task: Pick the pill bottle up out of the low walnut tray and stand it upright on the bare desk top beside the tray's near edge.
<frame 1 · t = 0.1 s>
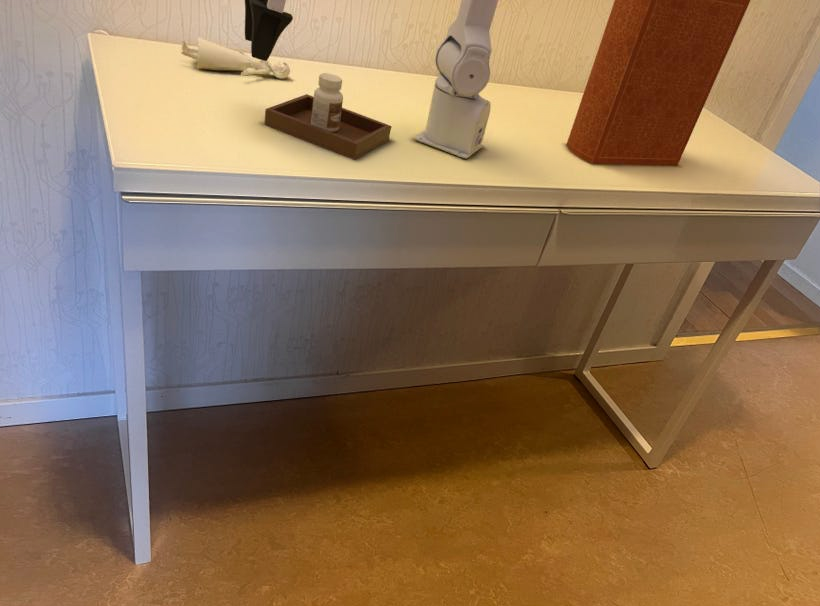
hand: (255, 49, 98), 11 cm above the table, tool pointing down, fingers open, 7 cm apart
book: (620, 156, 132), on the table
tray: (328, 132, 108), on the table
woman figurine: (236, 72, 121), on the table
pill bottle: (324, 128, 109), resting on tray
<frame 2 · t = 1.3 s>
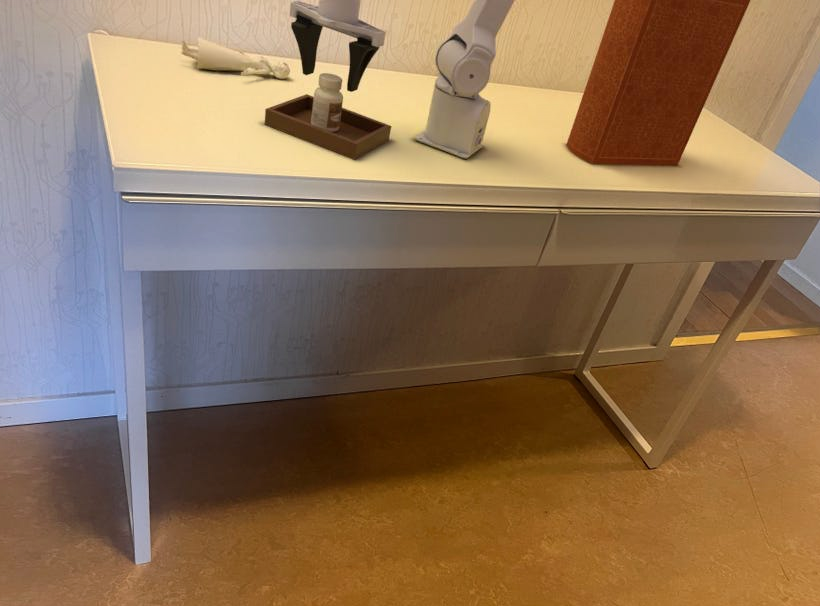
hand: (330, 81, 104), 7 cm above the table, tool pointing down, fingers open, 7 cm apart
nothing on the table moved.
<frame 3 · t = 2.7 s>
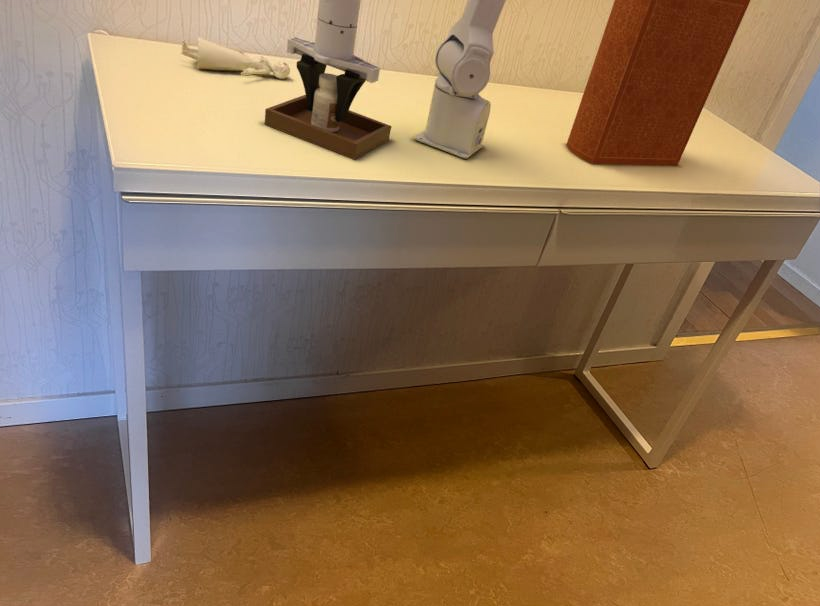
hand: (326, 114, 107), 2 cm above the table, tool pointing down, fingers closed on pill bottle, 4 cm apart
pill bottle: (324, 128, 109), resting on tray, touching gripper
everything else where it was.
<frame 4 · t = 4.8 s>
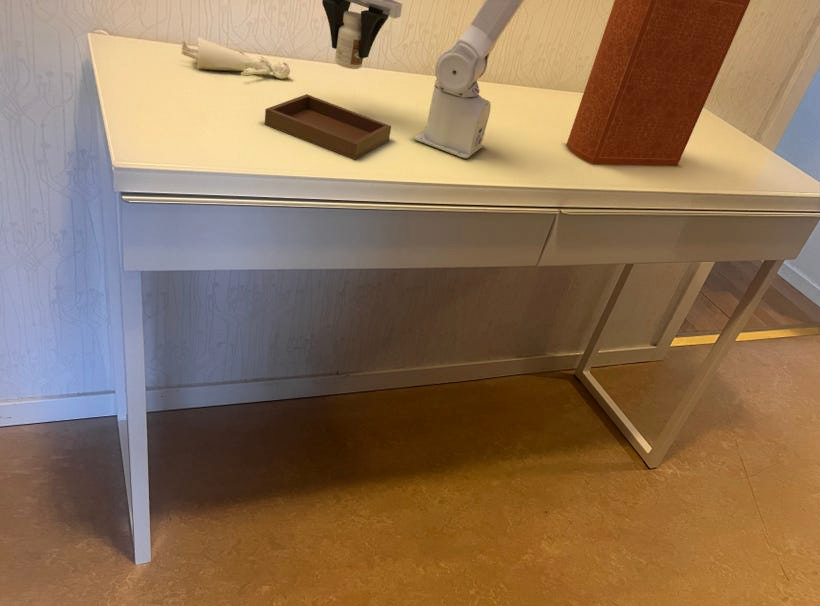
hand: (349, 52, 112), 9 cm above the table, tool pointing down, fingers closed on pill bottle, 4 cm apart
pill bottle: (348, 66, 114), point 7 cm above the table, touching gripper
everything else where it was.
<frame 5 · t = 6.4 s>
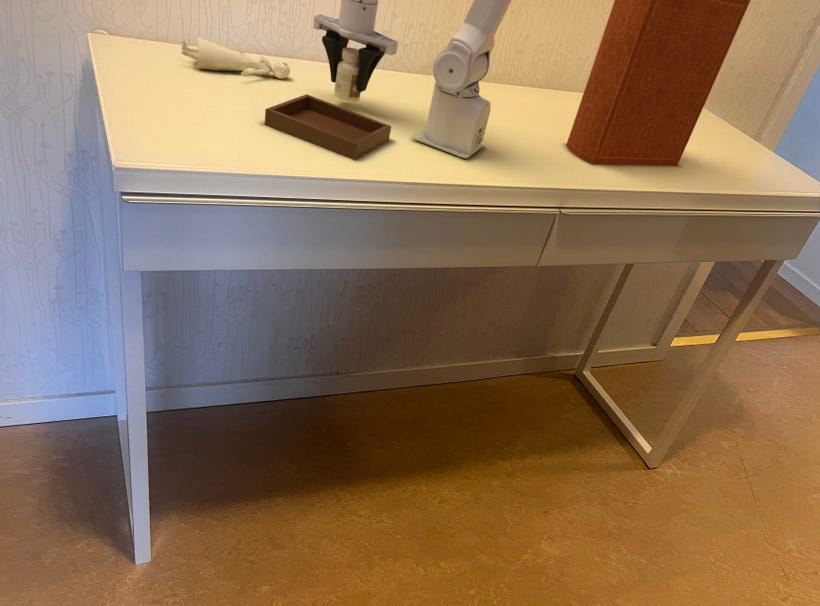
hand: (348, 85, 118), 3 cm above the table, tool pointing down, fingers closed on pill bottle, 4 cm apart
pill bottle: (346, 98, 119), point 1 cm above the table, touching gripper
everything else where it was.
when the fingers open (2 cm above the table, at t = 7.3 s): pill bottle stays where it is, on the table.
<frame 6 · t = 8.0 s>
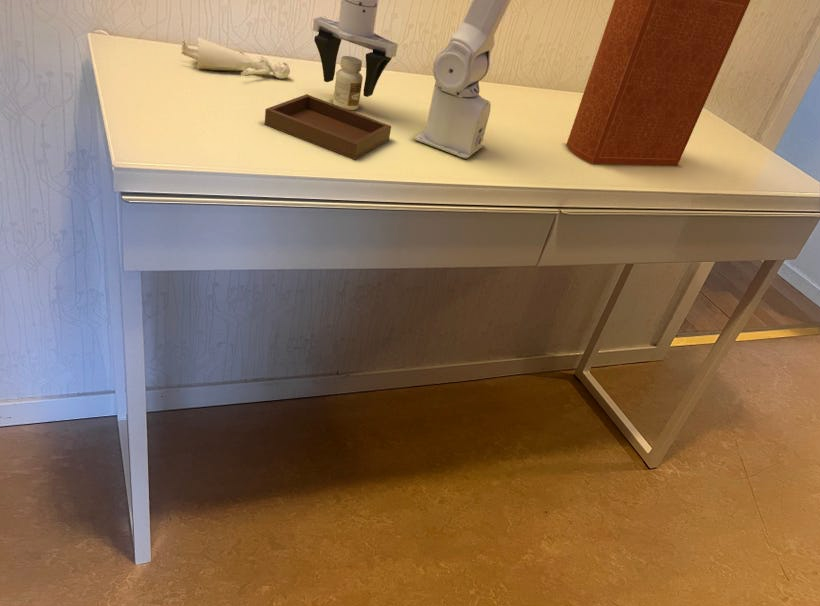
hand: (348, 88, 118), 3 cm above the table, tool pointing down, fingers open, 7 cm apart
pill bottle: (345, 106, 120), on the table
everything else where it was.
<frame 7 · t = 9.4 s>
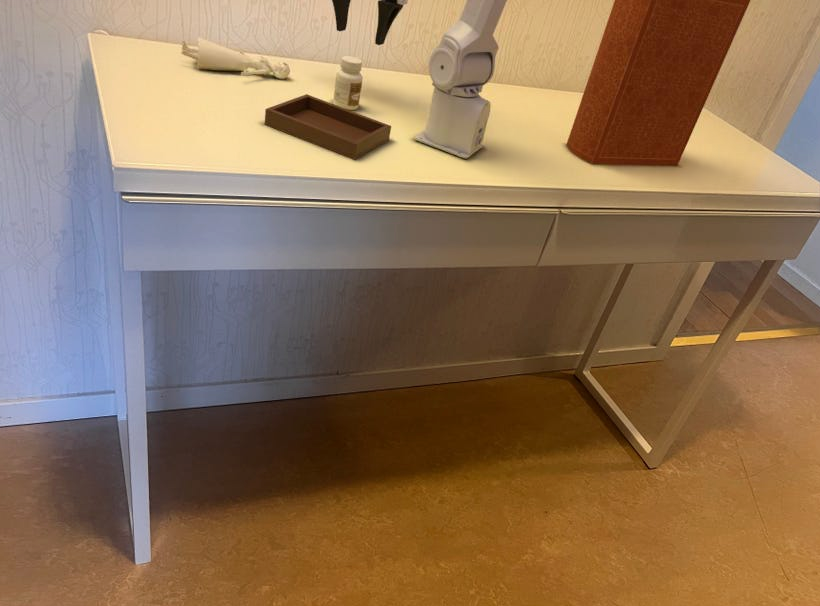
hand: (360, 37, 121), 9 cm above the table, tool pointing down, fingers open, 7 cm apart
nothing on the table moved.
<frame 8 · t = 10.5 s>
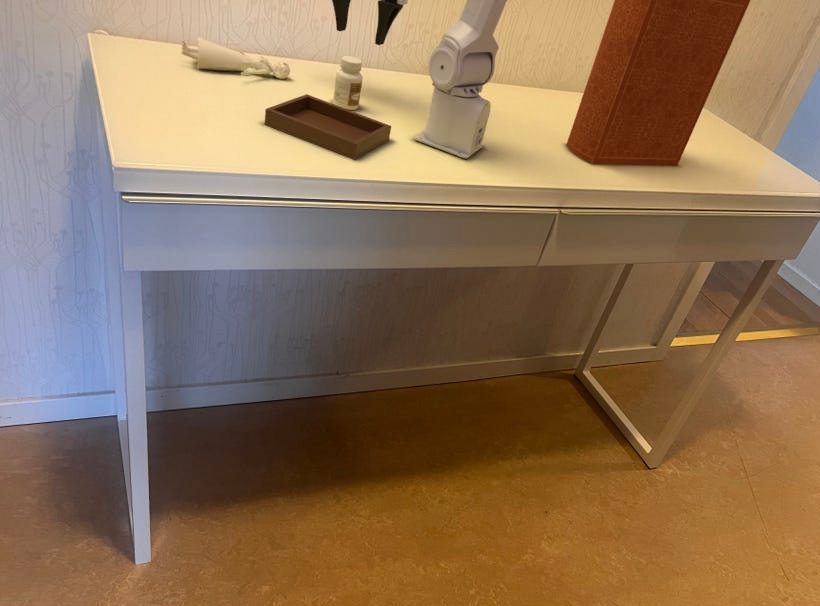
hand: (360, 37, 121), 9 cm above the table, tool pointing down, fingers open, 7 cm apart
nothing on the table moved.
at the end: pill bottle inside the target area (0.0 cm from its centre), on the table; pill bottle tilted 0°; the gripper is holding nothing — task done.
